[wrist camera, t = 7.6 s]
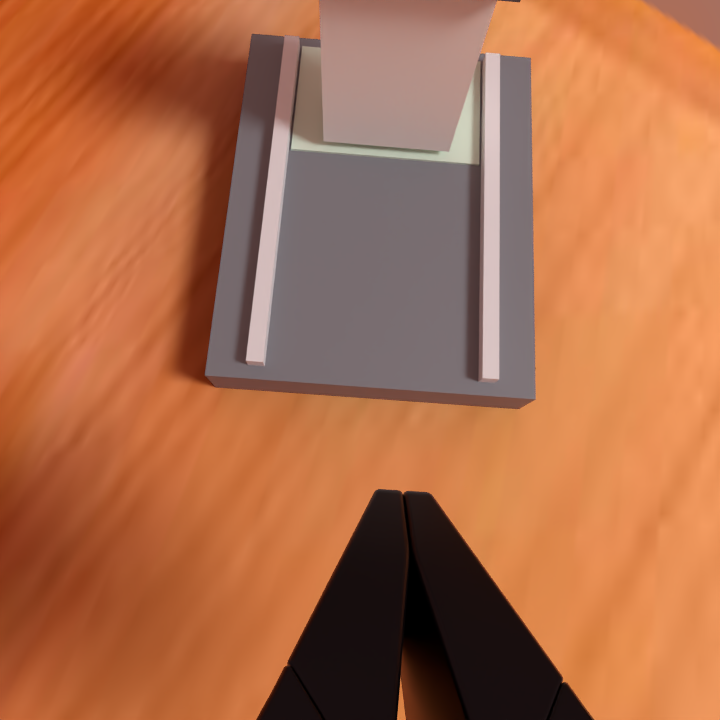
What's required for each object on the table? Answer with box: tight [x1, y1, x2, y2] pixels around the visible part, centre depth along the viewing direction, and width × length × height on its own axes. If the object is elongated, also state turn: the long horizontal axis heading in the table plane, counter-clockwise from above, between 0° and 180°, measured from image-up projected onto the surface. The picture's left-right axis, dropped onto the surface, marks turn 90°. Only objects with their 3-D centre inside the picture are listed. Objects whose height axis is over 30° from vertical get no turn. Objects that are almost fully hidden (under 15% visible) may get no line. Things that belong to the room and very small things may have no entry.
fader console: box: [205, 34, 535, 409], centre depth 24 cm, size 15×12×3 cm
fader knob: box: [319, 0, 520, 152], centre depth 19 cm, size 4×6×10 cm, turn 86°
